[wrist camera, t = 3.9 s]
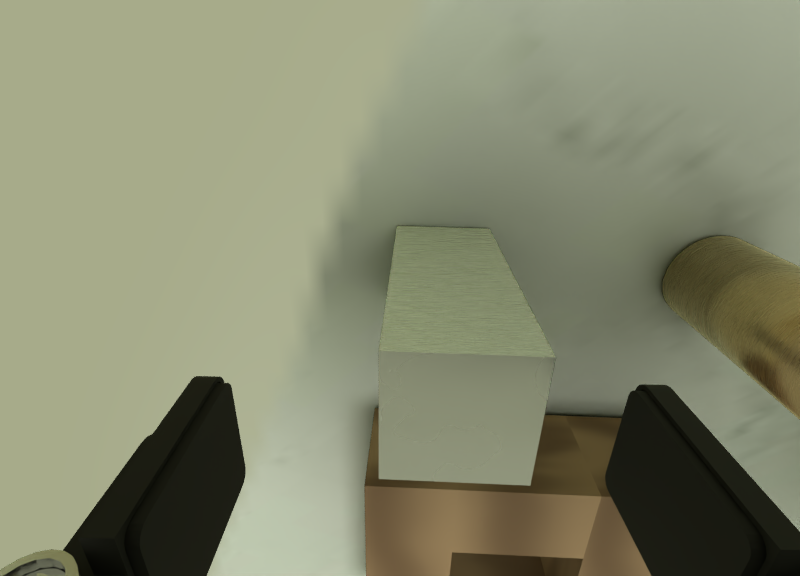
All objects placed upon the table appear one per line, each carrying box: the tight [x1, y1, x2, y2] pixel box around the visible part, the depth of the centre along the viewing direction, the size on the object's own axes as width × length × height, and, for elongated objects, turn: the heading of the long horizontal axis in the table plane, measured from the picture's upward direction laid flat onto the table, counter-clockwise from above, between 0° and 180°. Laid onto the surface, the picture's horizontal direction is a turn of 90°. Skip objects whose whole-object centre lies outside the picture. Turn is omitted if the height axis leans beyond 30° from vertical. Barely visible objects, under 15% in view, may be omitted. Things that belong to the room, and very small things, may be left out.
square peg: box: [379, 226, 556, 486], centre depth 15 cm, size 4×4×10 cm
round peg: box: [663, 236, 800, 420], centre depth 15 cm, size 4×4×10 cm
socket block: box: [365, 408, 651, 576], centre depth 24 cm, size 14×14×5 cm
